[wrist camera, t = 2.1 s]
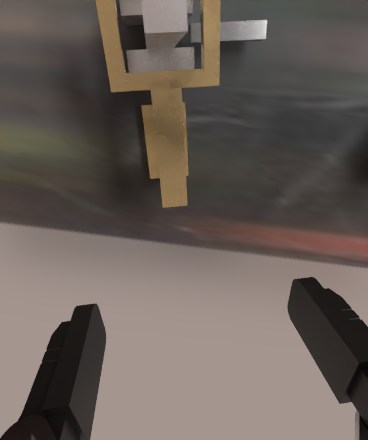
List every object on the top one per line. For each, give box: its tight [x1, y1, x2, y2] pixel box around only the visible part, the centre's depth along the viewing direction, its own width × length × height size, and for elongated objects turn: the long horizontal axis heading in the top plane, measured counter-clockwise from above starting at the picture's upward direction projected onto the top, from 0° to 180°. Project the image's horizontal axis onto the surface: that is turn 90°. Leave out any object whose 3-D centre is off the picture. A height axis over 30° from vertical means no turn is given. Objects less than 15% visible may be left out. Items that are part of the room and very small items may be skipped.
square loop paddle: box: [96, 0, 220, 208], centre depth 20 cm, size 16×7×8 cm, turn 3°
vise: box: [119, 0, 267, 73], centre depth 17 cm, size 6×11×12 cm, turn 93°
